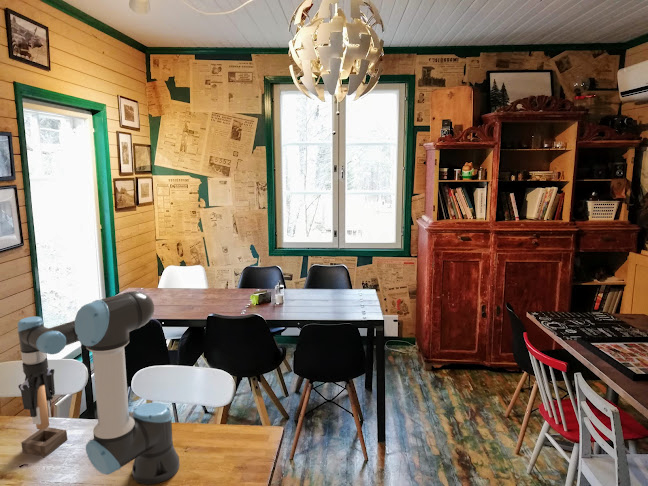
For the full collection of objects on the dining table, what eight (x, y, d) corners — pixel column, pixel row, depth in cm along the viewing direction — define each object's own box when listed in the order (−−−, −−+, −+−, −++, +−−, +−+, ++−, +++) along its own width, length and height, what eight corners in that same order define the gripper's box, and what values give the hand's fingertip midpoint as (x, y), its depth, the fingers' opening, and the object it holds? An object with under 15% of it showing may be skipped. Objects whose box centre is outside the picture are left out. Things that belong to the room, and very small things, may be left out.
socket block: (67, 439, 172) (66, 430, 171) (46, 456, 162) (44, 446, 161) (45, 436, 174) (43, 426, 173) (22, 452, 164) (21, 442, 164)
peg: (51, 423, 168) (47, 383, 165) (43, 430, 164) (38, 389, 161) (42, 422, 169) (37, 382, 166) (33, 428, 165) (28, 388, 162)
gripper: (45, 349, 170) (52, 406, 175) (4, 369, 154) (13, 432, 159) (62, 351, 169) (68, 408, 173) (23, 372, 153) (31, 435, 157)
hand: (42, 419), depth 166 cm, fingers closed on peg, 4 cm apart
